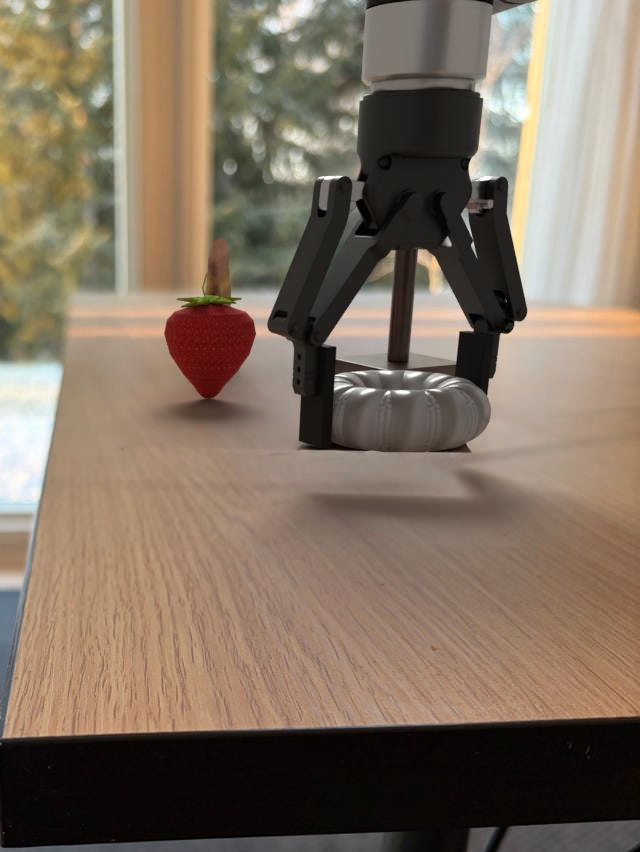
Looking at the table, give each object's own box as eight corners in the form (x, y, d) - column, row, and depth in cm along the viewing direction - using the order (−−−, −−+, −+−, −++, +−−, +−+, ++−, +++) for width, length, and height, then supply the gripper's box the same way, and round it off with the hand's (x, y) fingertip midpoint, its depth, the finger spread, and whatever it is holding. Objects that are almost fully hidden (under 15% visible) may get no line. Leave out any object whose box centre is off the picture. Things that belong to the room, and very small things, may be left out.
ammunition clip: (213, 362, 107) (214, 236, 103) (231, 363, 107) (233, 236, 102) (201, 379, 97) (203, 241, 93) (221, 380, 97) (223, 241, 93)
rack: (404, 367, 104) (417, 208, 98) (466, 380, 96) (485, 208, 91) (328, 373, 100) (337, 209, 95) (387, 387, 93) (401, 210, 87)
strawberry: (252, 406, 85) (256, 275, 81) (160, 404, 86) (159, 275, 82) (255, 393, 90) (259, 270, 87) (168, 392, 91) (168, 270, 87)
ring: (407, 415, 81) (412, 362, 80) (524, 446, 71) (532, 386, 70) (270, 430, 76) (272, 374, 75) (374, 466, 66) (379, 402, 64)
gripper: (527, 100, 73) (491, 410, 82) (218, 87, 63) (212, 441, 72) (613, 91, 67) (564, 427, 75) (285, 75, 57) (271, 464, 66)
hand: (393, 435), depth 74 cm, fingers closed on ring, 12 cm apart
